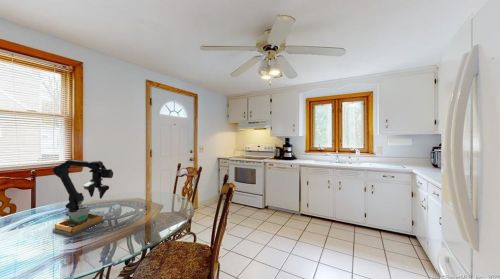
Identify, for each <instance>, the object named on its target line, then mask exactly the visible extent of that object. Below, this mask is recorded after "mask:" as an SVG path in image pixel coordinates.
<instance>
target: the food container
mask: <svg viewBox="0 0 500 279" xmlns="http://www.w3.org/2000/svg"><path fill="white" fill-rule="evenodd" d="M90 212H91V208H90V206H88V205H87V206H86V207H85V208H79V210H77V211H75V212H69V213H68V212H67V214H68V215H67V216H68V219H70V227H75V226H77V225H80V224H82V223H85V222H87V220H88V213H90Z"/></svg>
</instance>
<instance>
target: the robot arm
mask: <svg viewBox="0 0 500 279" xmlns="http://www.w3.org/2000/svg"><path fill="white" fill-rule="evenodd" d="M72 166H73V167H83V168H88V169H90V170H89V171H88V172H89V173H92V174H91V179H89V181H88V182H87V183H84V184H83V189H84V190H86V191H88V193H89V196H90V198H92V197H94V195H95V194H94V193H95V189H97V192H98V193H99V199H101V200H102V198H103V197H104V195H105V194H106V192H107V191H108V190H109V189H110V185H107V184H103V183H102V181H103V180H104V179H112V178H113V177H114V172H113V169H112V168H110V169H109V168H108V169H107V167H106V166H105V164H104V162H103V161H102V160H94V161H88V160H85V161H84V160H79V159H78V160H76V159H67V160H66V161H64V162H63V163H61V164H59V165H57V166H54V167H53V169H52V172H53V174H54V175H55V176H56V177H58V179H60V180H61V183H62V184H63V186H64V189H65V190H66V192H67V194H68V202H67V204H65V209H68V210H67V213H65V215H66V216H68V213H69V212H75V211H77V210H80V205H82V203H83V202H84V200H85V196H84V195H83V193H82V192H78V191H77V189H76V187H75V185H74V183H73V181H72V179H71V177H70V170H69V169H70V168H71V167H72Z"/></svg>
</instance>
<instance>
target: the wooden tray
mask: <svg viewBox="0 0 500 279" xmlns="http://www.w3.org/2000/svg"><path fill="white" fill-rule="evenodd" d="M103 217H104V216H103V215H100V214H96V213H91V212H89V213H88V220H87V222H85V223H82V224H80V225H77V226H75V227H70V219H69V218H68V219H65V220H63V221H60V222H57V223H55V224H54V228H52V233H55V234H59V235H62V236H66V237H69V238H72V237H75V236H77V235H79V234H81V233H84V232H86V231H88V230H90V229H89V228H91V227H93V226H95V225H97V226H99V225H98V224H100V223H102V222H104V223H105V219H104V218H103ZM102 224H103V223H102ZM100 225H101V224H100ZM95 227H96V226H95ZM93 228H94V227H93ZM87 229H88V230H87ZM91 229H92V228H91ZM85 230H86V231H85ZM83 231H84V232H83ZM78 233H79V234H78ZM76 234H77V235H76ZM74 235H75V236H74Z"/></svg>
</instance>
